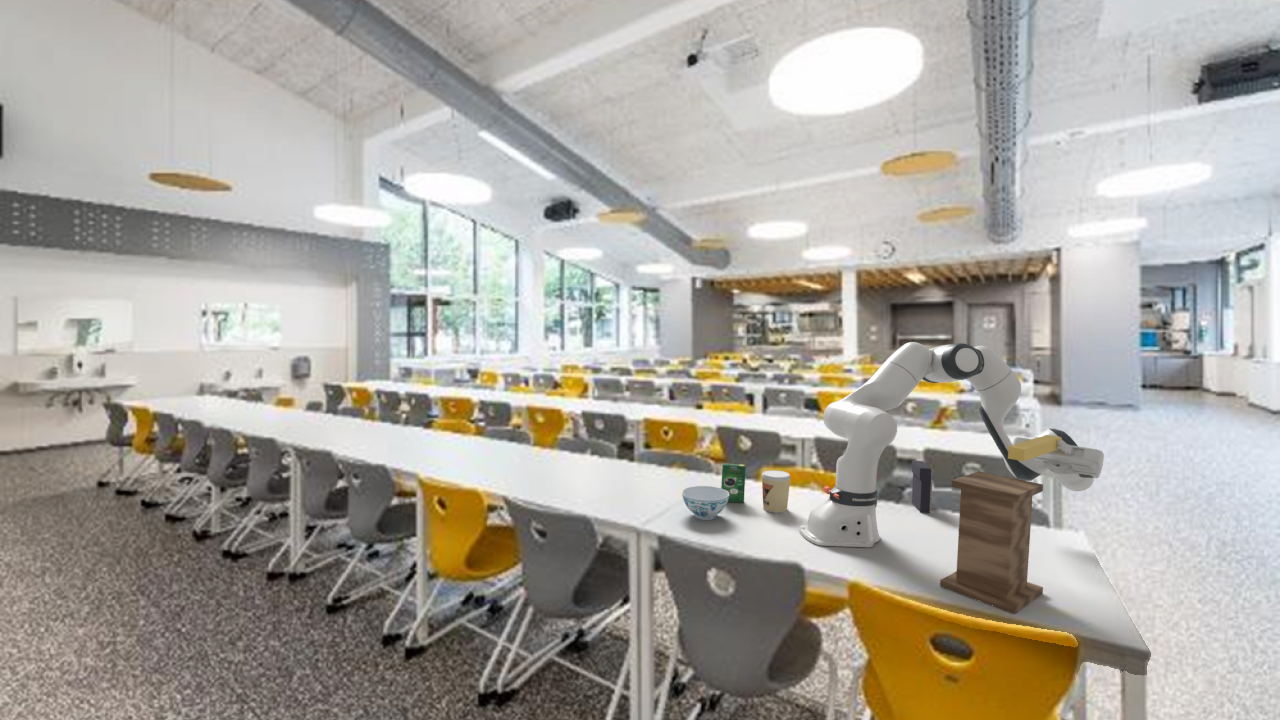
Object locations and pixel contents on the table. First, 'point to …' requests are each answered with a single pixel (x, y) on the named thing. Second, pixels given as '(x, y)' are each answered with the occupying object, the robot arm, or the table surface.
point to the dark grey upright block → (921, 486)
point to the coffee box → (734, 481)
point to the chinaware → (705, 501)
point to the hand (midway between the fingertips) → (1048, 441)
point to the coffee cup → (775, 490)
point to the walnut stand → (994, 541)
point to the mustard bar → (1033, 448)
